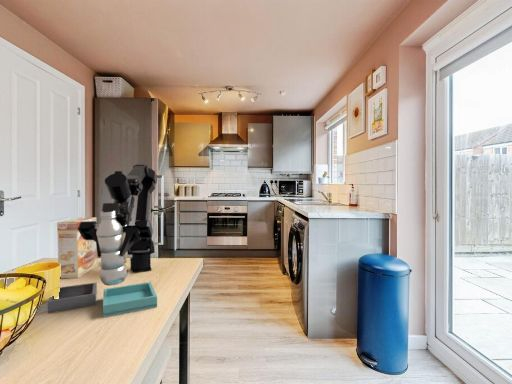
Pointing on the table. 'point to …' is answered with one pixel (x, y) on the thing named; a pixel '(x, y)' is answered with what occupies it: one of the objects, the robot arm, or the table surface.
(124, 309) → the tray
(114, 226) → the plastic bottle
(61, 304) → the open frame
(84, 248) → the coffeecake box
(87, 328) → the table surface
